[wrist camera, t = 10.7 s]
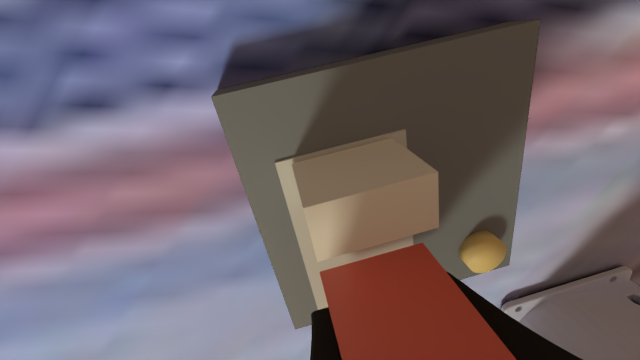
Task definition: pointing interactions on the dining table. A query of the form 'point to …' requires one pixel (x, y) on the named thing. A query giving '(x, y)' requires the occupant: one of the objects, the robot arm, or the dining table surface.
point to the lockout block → (405, 311)
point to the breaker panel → (405, 127)
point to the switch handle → (366, 197)
